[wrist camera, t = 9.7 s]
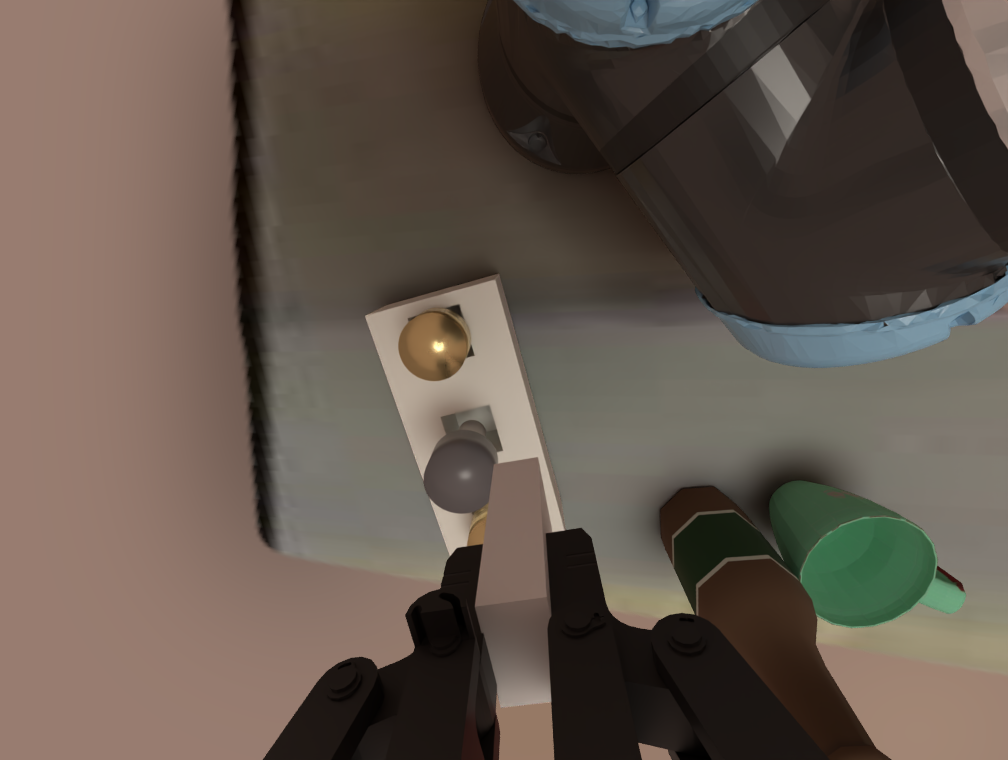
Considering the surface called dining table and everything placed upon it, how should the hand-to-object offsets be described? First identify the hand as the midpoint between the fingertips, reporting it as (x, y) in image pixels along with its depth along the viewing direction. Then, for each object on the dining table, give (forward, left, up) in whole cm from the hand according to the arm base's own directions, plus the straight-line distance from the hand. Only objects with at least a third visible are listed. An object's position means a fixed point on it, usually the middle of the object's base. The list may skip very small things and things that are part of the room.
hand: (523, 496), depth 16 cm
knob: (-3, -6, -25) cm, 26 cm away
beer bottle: (+21, +11, -27) cm, 36 cm away
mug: (+23, +22, -27) cm, 42 cm away
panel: (+5, -6, -27) cm, 28 cm away
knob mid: (+5, -6, -21) cm, 22 cm away
